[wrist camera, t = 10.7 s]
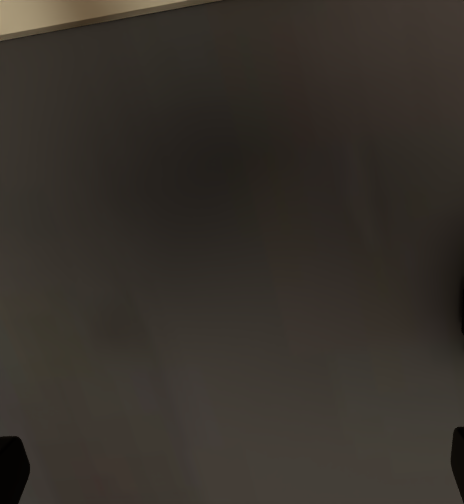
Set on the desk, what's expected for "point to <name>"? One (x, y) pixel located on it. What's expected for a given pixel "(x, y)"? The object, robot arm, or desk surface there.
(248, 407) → the desk surface
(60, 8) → the base plate
